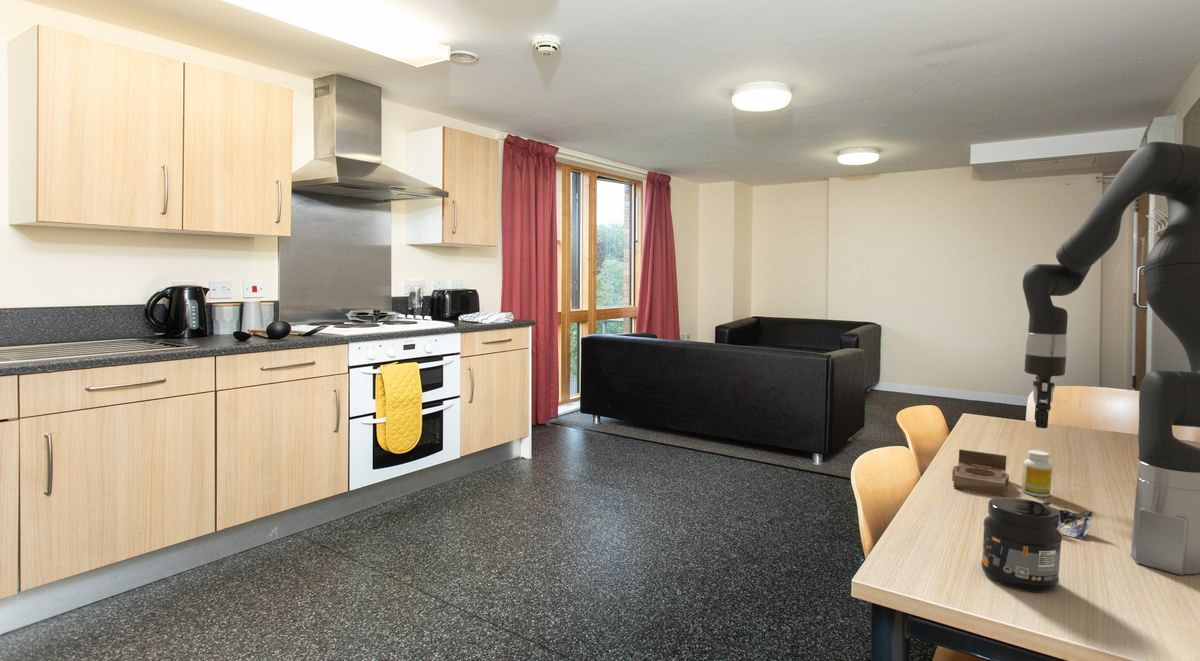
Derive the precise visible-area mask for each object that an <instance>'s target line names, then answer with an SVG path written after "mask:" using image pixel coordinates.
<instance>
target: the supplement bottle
mask: <svg viewBox="0 0 1200 661" xmlns="http://www.w3.org/2000/svg"><path fill="white" fill-rule="evenodd" d="M1049 460H1050V453H1049V452H1046V451H1043V450H1036V449H1035V450H1028V451H1027V459H1024V461H1023V464H1022V465H1023V466H1022V467H1023V468H1022V480H1021V481H1022V482H1021V491H1022V492H1023V493H1024V494H1025V495H1029V496H1033V497H1039V498H1047V497H1049V496H1050V495H1051V487H1052V484H1051V483H1052V474H1053V473H1052V472H1053V466H1052V464H1051V462H1049Z"/></svg>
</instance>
